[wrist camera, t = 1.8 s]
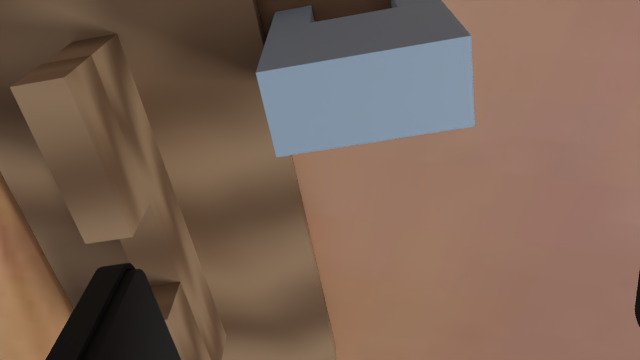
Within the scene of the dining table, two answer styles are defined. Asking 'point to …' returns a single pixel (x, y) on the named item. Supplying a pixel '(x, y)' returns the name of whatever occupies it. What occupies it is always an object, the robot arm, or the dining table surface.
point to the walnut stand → (161, 168)
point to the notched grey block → (365, 76)
